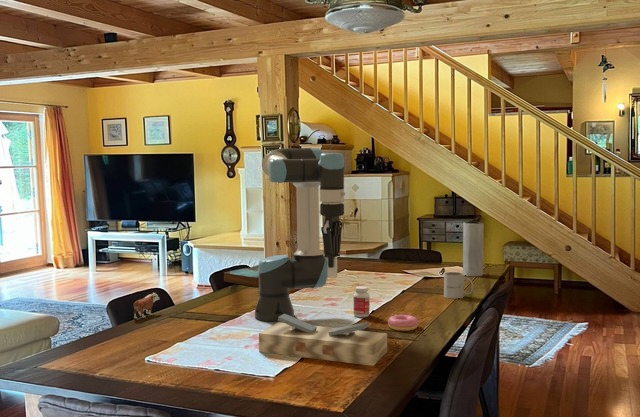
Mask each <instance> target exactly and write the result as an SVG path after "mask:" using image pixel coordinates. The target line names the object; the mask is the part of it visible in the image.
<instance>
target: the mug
mask: <svg viewBox="0 0 640 417" xmlns="http://www.w3.org/2000/svg"><path fill="white" fill-rule="evenodd" d="M465 281H469V283H470V285H471V286H470V291H469V292H466V291H465ZM473 290H474V282H473V280H472V279H471V278H469V277H465V275H464V273H463V272H458V271H449V272H448V271H447V272H444V273H443V298H447V299H453V300H454V299H456V300H458V298H460V299H464V298H465V295H466V296H467V295H470V294H472V293H473ZM463 297H464V298H463Z"/></svg>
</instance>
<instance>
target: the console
mask: <svg viewBox="0 0 640 417" xmlns="http://www.w3.org/2000/svg"><path fill="white" fill-rule="evenodd" d="M315 326H316V327H317V329H316V331H315V332H313V333H312V334H309V333H307V332H304V331H302V330H300V329H297V328H296V329H294V330H293V329H292V326H290V325H288V324H285V323H283V322H281V321H277V322H276V323H275V324H273V325H271V326H269V327H267V328H265V329H264V330H262V331H260V332H259V333H258V352H259V353H265V354H274V355H283V356H291V357H300V358H307V359H315V360H322V361H332V362H340V363H347V364H355V365H356V364H357V365H362V366H363V365H364V366H370V367H374V366H375V365H376V364H377V363H378V362H379V361H380V360H381V359H382V358H383V357H384V356H385V355H386V354H387V353H388V333H387V332H380V331H379V332H376V331H368V330H357V331H352V332H351V333H350V334H349V335H345V333H343V334H338V335H333V336H329V333H328V332H330V331H331V330H332V329H335V328H336V327H329V326H319V325H315Z"/></svg>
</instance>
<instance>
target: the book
mask: <svg viewBox="0 0 640 417" xmlns="http://www.w3.org/2000/svg"><path fill="white" fill-rule="evenodd" d="M258 271H259V268H252V267H246V268H239V269H235V270H229V271H226V272H225V271H224V272H223V274H224V275H223V280H224V283H230V284H235V285H243V286H247V287H256V288H259V273H258Z"/></svg>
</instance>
